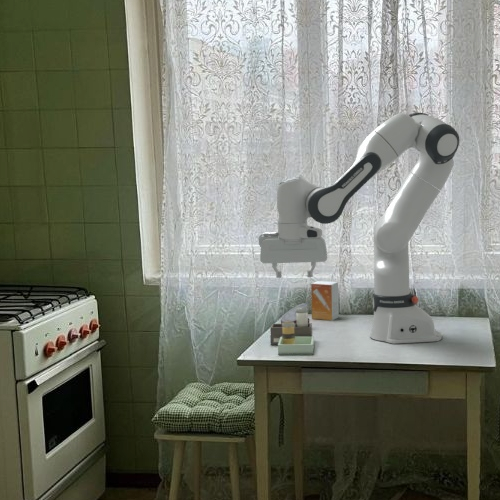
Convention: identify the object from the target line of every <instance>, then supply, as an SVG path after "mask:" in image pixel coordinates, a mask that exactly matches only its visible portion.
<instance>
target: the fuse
mask: <svg viewBox="0 0 500 500" xmlns="http://www.w3.org/2000/svg"><path fill="white" fill-rule="evenodd" d="M308 318H309V309H308V307H307V308H306V307H298V308H296V320H297V327H308Z"/></svg>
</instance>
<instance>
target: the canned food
mask: <svg viewBox="0 0 500 500" xmlns="http://www.w3.org/2000/svg"><path fill="white" fill-rule="evenodd" d="M298 307H306V308H308V303H306V302H302V303H300V304H298V305H296V306H294V307H292V308H291V309H289V310H288V311H287V312H285V313H283V315H282V316H281V318H280V324H282V322H286V321H293V322H294V323H297V320H296V308H298ZM308 323H310V318H309V317H308Z"/></svg>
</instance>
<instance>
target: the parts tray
mask: <svg viewBox="0 0 500 500" xmlns="http://www.w3.org/2000/svg"><path fill="white" fill-rule="evenodd" d="M314 349H315V336H312V337H295V344H283V337H280V340H279V343H278V345H277V353H278V355H279V356H280V355H281V356H282V355H290V356H291V355H295V356H296V355H301V356H302V355H313V354H314ZM278 355H277V356H278Z"/></svg>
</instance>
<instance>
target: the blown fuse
mask: <svg viewBox="0 0 500 500" xmlns="http://www.w3.org/2000/svg"><path fill="white" fill-rule="evenodd" d="M282 331H283V333H282V334H283V344H295V333H294V322H293V321H286V322H282Z"/></svg>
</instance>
